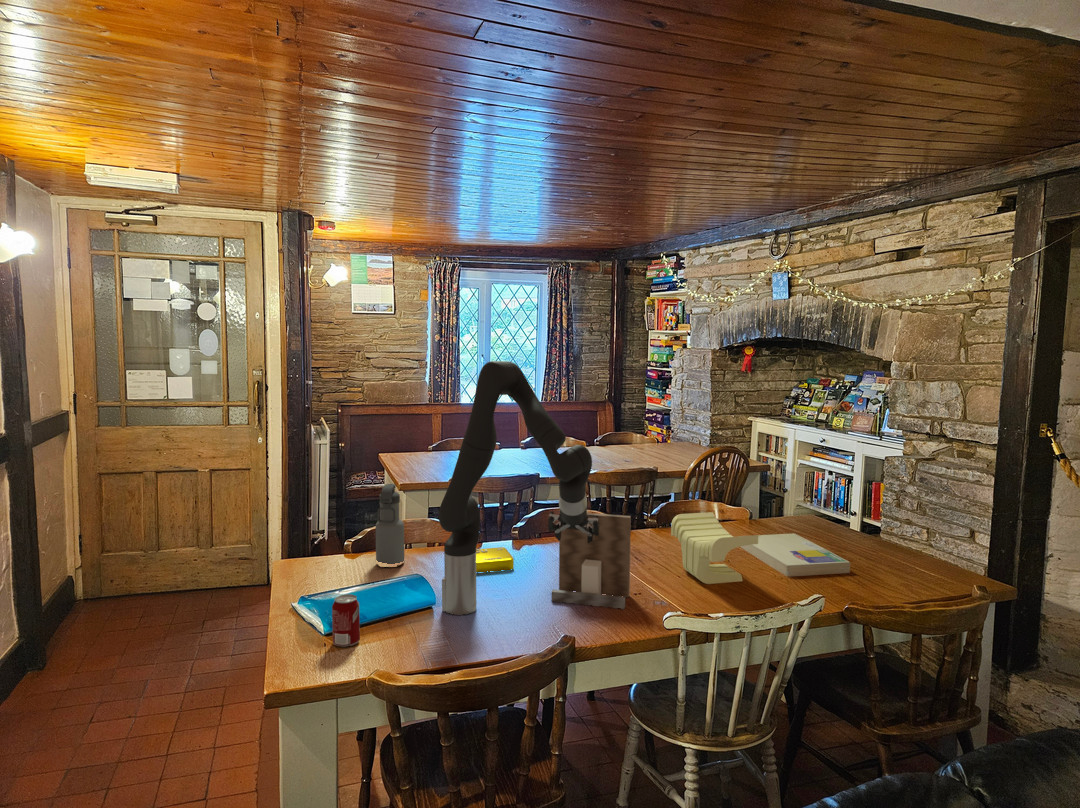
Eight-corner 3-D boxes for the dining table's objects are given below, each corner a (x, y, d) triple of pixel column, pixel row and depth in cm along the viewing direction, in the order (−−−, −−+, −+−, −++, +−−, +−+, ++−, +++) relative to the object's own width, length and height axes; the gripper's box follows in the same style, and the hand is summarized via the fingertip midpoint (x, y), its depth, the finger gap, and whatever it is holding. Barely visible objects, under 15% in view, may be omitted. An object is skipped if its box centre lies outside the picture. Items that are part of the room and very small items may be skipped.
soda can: (349, 650, 172) (348, 604, 171) (327, 646, 175) (326, 600, 173) (365, 639, 178) (364, 595, 177) (344, 635, 181) (343, 591, 180)
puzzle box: (794, 544, 268) (737, 546, 264) (795, 533, 267) (737, 535, 263) (850, 575, 232) (785, 578, 228) (851, 562, 232) (786, 565, 228)
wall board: (551, 601, 206) (552, 520, 203) (560, 588, 217) (561, 511, 214) (624, 609, 200) (625, 525, 198) (629, 595, 211) (630, 516, 209)
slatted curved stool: (670, 563, 241) (671, 514, 240) (711, 560, 245) (712, 512, 243) (710, 594, 212) (712, 538, 211) (756, 590, 216) (758, 535, 214)
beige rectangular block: (581, 600, 206) (581, 565, 205) (585, 593, 212) (585, 559, 211) (597, 602, 205) (598, 566, 204) (601, 595, 211) (601, 560, 210)
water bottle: (400, 569, 234) (399, 489, 231) (372, 569, 234) (371, 488, 232) (407, 559, 244) (406, 483, 242) (380, 559, 244) (378, 482, 242)
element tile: (471, 575, 230) (471, 561, 229) (464, 561, 244) (464, 548, 244) (514, 571, 234) (514, 557, 233) (505, 558, 248) (505, 545, 248)
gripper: (600, 495, 186) (600, 531, 197) (548, 490, 188) (551, 526, 199) (597, 517, 180) (597, 552, 191) (544, 512, 182) (547, 547, 193)
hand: (574, 539), depth 195 cm, fingers open, 8 cm apart
